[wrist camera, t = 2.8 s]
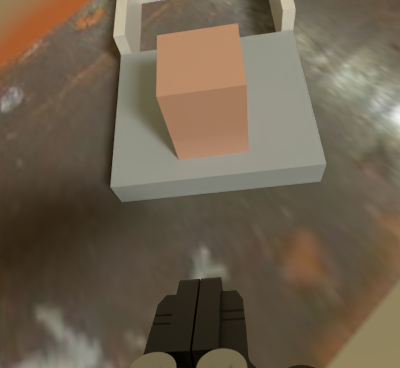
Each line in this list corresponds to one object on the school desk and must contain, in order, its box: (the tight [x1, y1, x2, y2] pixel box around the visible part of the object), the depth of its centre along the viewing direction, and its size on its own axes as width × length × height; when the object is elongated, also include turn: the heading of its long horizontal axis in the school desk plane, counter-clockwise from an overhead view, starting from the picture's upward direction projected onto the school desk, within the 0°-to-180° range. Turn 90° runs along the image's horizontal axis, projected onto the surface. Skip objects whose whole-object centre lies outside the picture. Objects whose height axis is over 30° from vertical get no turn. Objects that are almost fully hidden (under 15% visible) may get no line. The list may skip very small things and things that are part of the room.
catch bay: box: [113, 0, 295, 55], centre depth 41 cm, size 18×13×5 cm
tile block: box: [156, 23, 249, 160], centre depth 28 cm, size 6×6×8 cm
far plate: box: [110, 30, 326, 202], centre depth 34 cm, size 18×16×3 cm
